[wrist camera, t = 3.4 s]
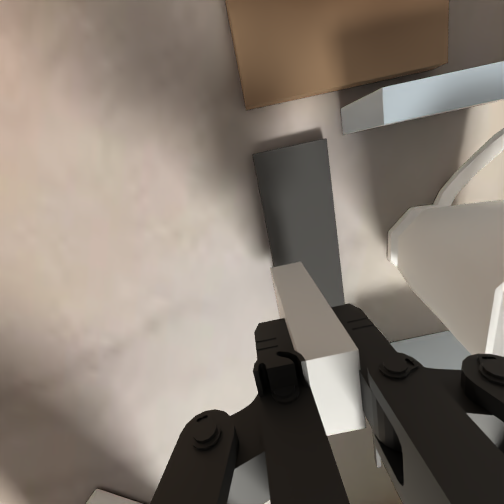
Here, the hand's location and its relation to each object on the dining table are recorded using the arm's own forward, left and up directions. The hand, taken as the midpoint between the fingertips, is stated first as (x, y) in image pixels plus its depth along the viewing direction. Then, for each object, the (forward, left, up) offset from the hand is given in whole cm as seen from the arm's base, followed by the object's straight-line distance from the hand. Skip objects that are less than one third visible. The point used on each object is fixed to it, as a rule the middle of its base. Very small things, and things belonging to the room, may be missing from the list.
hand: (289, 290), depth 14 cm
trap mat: (0, +1, -2) cm, 3 cm away
